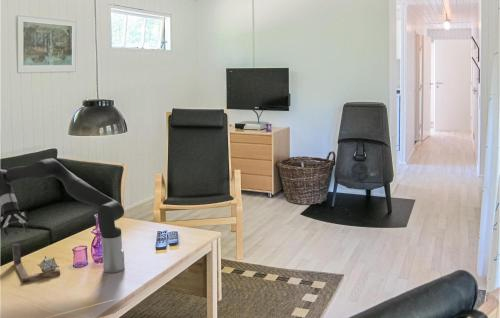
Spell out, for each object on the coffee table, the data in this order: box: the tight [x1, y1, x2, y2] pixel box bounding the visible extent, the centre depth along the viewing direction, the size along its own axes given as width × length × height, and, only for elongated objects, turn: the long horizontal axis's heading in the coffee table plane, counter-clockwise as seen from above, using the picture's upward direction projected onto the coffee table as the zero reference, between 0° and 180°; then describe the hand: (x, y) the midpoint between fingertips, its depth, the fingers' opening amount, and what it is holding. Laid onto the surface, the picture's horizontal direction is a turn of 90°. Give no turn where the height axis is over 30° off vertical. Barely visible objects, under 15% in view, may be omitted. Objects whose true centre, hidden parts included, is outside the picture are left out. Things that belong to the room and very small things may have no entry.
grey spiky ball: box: [37, 255, 60, 273], centre depth 231 cm, size 9×8×10 cm
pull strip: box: [11, 242, 61, 284], centre depth 235 cm, size 16×26×10 cm, turn 34°
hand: (16, 233), depth 244 cm, fingers open, 8 cm apart
